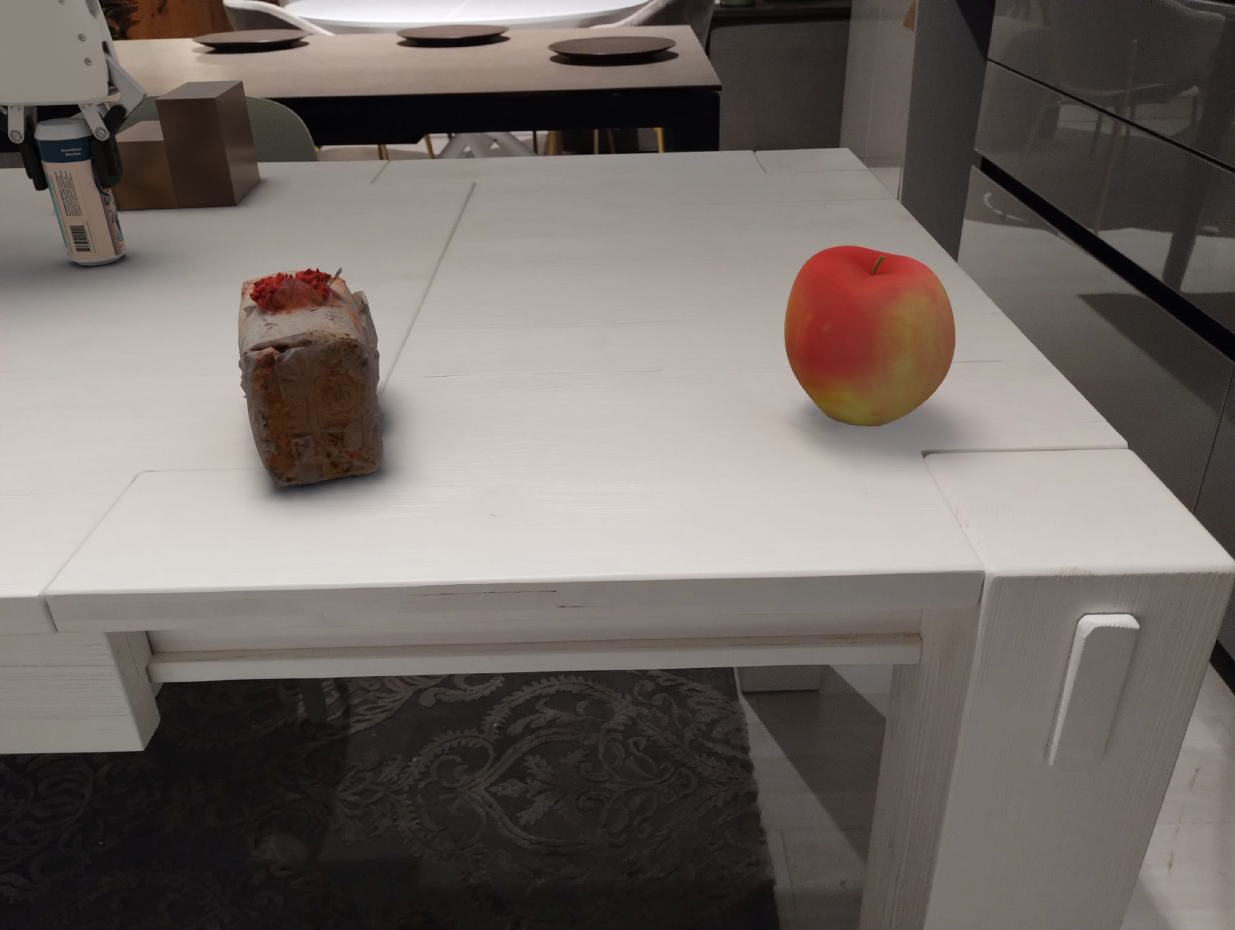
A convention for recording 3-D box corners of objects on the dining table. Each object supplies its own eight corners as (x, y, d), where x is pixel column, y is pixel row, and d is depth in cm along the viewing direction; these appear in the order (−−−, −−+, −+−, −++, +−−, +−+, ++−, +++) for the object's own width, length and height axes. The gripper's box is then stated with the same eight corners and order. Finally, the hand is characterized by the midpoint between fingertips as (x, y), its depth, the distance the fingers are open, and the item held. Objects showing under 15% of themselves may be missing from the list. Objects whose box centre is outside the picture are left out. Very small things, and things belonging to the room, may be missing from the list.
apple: (770, 445, 58) (781, 276, 53) (784, 379, 66) (795, 227, 61) (945, 461, 56) (973, 287, 51) (937, 390, 64) (961, 235, 59)
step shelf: (61, 212, 107) (30, 103, 101) (101, 185, 117) (75, 85, 112) (236, 205, 108) (215, 97, 103) (260, 179, 118) (242, 80, 113)
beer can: (136, 258, 92) (102, 121, 86) (82, 271, 89) (43, 129, 83) (114, 248, 95) (79, 114, 89) (61, 260, 92) (22, 122, 86)
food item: (249, 397, 65) (218, 246, 60) (375, 378, 67) (354, 231, 62) (259, 498, 54) (221, 322, 49) (410, 471, 56) (388, 300, 51)
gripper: (142, -52, 84) (190, 172, 92) (-72, -47, 82) (-3, 179, 91) (111, -48, 77) (166, 192, 86) (-123, -44, 76) (-43, 200, 85)
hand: (78, 183), depth 88 cm, fingers closed on beer can, 4 cm apart
